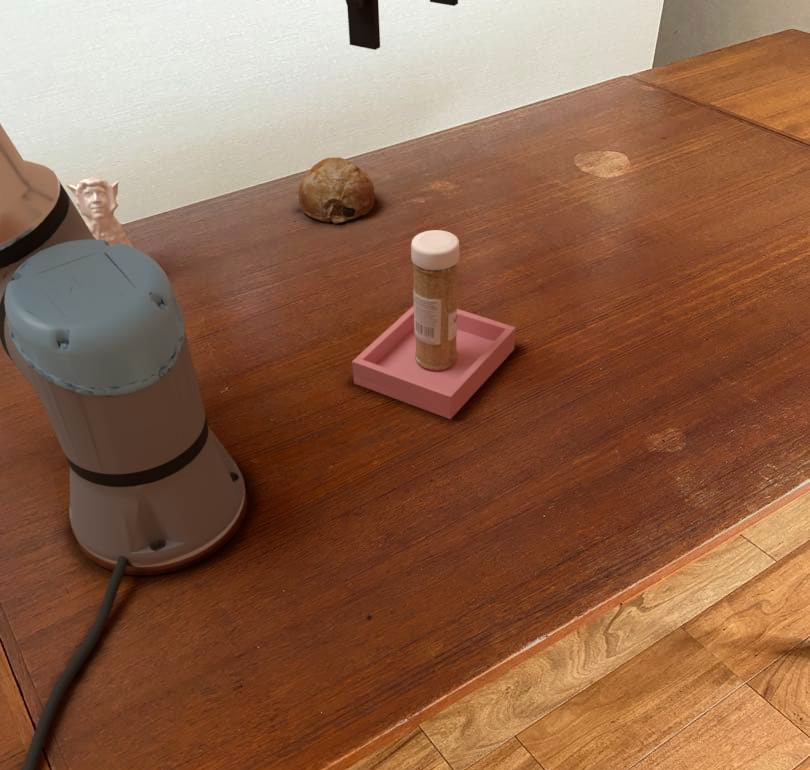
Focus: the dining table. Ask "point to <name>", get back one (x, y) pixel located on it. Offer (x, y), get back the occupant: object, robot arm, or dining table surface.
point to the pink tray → (434, 389)
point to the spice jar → (435, 298)
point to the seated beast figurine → (100, 209)
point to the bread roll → (336, 191)
